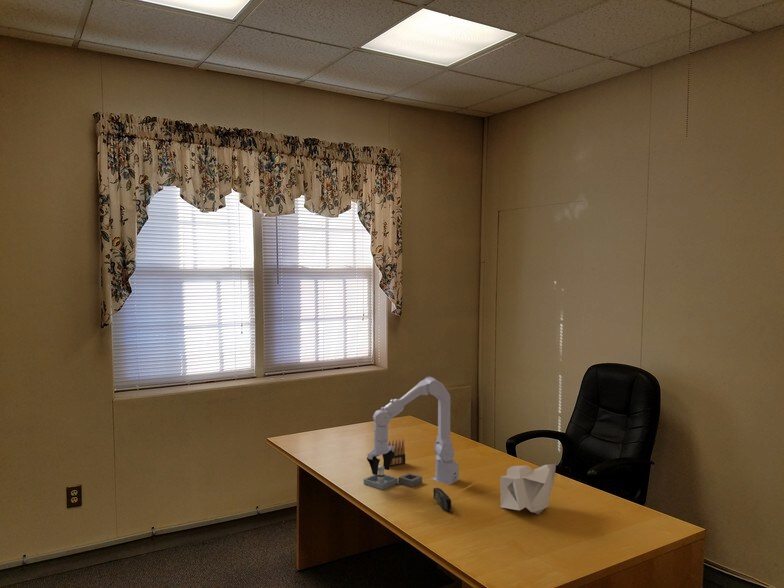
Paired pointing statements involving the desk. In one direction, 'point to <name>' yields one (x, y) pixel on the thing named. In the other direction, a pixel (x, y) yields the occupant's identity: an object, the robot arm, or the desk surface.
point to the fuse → (380, 474)
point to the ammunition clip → (398, 453)
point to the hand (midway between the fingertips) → (380, 472)
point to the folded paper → (527, 487)
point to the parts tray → (373, 483)
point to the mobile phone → (442, 499)
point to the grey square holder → (410, 480)
